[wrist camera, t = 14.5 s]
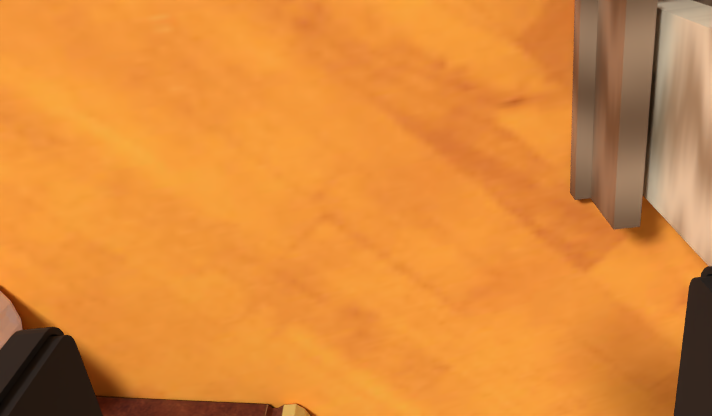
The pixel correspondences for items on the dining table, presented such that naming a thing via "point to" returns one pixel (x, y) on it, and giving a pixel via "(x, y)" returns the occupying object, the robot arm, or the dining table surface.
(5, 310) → the soap bottle
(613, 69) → the stand
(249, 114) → the dining table surface
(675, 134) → the birch sheet
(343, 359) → the dining table surface
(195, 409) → the decorative book
